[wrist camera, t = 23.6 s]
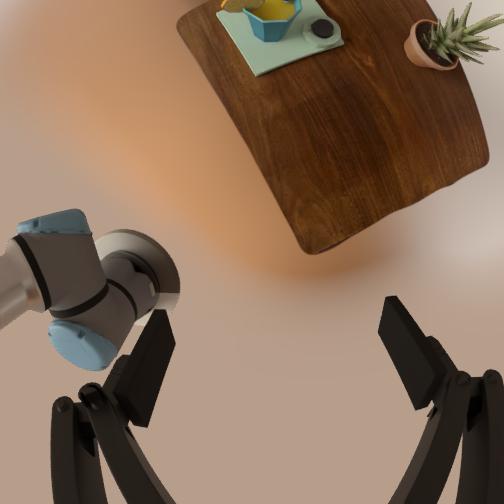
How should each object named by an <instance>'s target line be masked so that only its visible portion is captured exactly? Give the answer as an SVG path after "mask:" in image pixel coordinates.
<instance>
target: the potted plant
mask: <svg viewBox="0 0 504 504" xmlns="http://www.w3.org/2000/svg"><path fill="white" fill-rule="evenodd" d="M471 4H472V3H471V2H470V3H469V4H468V6H467V7H466V9H465V11H464V13H463V14H462V16H461V18H460V20H459V22H458V19H459V18H457V19H456V20H455V22H454V11H453V10H454V8H452V9H451V11H450V13H449V16H448V18H447V22H446V25H445V28H443V27H442V25H441V23H440V19H439V20H438V24H437V23H436V22H434V21H431V20H420V21H418V22H417V23H415V24H414V25H413V26H412V28H411V32H410V36H409V38H408V39H407V40H406V41H405V43H404V49H405V52H406V55H407V57H408V58H409V59H410V60H411V61H412V63H414V64H415V65H417V66H420V67H429V68H435V69H438V70H442V71H445V70H451V69H453V68H455V67H456V66H457V64H458V61H459V57H460V58H461V59H463V60H465V61H468V62H469V60H472V61H474V62H477V63H480V64H483V63H481V62H479V61H477V60H475V59H474V58H472V57H470V56H468V55H466V54H464V53H462V52H460V51H459V50H461V51H464V52H466V53H469V54H472V55H476V56H479V57H482V56H481V55H479V54H477V53H475V52H473V51H481V52H488V50H500V49H498V48H495V47H492V46H490V45H487V44H484V43H481V42H479V41H481V40H486V39H488V38H489V37H481V36H473V35H475V34H477V33H479V32H482V31H484V30H487V29H489V28H492V27H494V26H497V25H499V24H502V23H504V19H499V20H495V21H491V20H493V19H495V18H497V17H499V16H500V15H503V14H496V15H493V16H490V17H487V18H485V19H483V20H481V21H479V22H477V23H475V24H473V25H471V26H469V27H468V28H466V20H467V16H468V13H469V10H470V7H471ZM489 21H491V22H489ZM487 22H488V23H487ZM485 49H486V50H485ZM471 50H473V51H471ZM468 59H469V60H468Z"/></svg>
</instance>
